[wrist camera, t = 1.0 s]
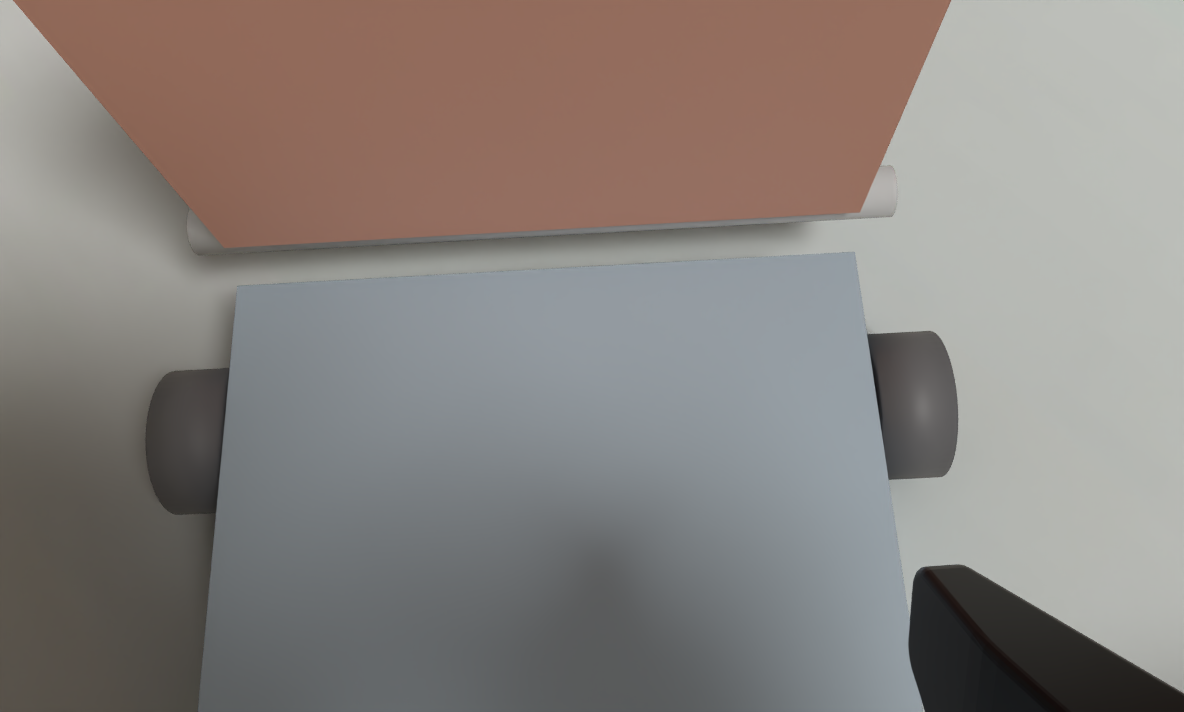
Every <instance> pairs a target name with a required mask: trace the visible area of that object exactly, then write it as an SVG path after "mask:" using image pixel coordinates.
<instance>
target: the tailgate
mask: <svg viewBox="0 0 1184 712" xmlns="http://www.w3.org/2000/svg"><path fill="white" fill-rule="evenodd" d="M13 1H14V2H15V3H16V4H17V5H18V7H19V8H20V9H21V10H22V11H23V12H24V14H25V15H26V16H27V17H28V18H29V20H30V21H31V22H32V23H33V24H34V25H35V27H36V28H37V29H38V30H39V31H40V32H41V34H42V35H43V36H44V37H45V38H46V39H47V41H48V42H49V43H50V44H51V45H52V46H53V48H54V49H55V50H56V51H57V52H58V54H59V55H60V56H61V57H62V58H63V59H64V61H65V62H66V63H67V64H68V65H69V66H70V68H71V69H72V70H73V71H74V72H75V73H76V75H77V76H78V77H79V78H80V79H81V81H82V82H83V83H84V84H85V85H86V86H87V88H88V89H89V90H90V91H91V92H92V93H93V95H94V96H95V97H96V98H97V99H98V100H99V102H100V103H101V104H102V105H103V106H104V108H105V109H106V110H107V111H108V112H109V113H110V115H111V116H112V117H113V118H114V119H115V120H116V122H117V123H118V124H119V125H120V126H121V127H122V129H123V130H124V131H125V132H126V133H127V135H128V136H129V137H130V138H131V139H132V140H133V142H134V143H135V144H136V145H137V146H138V147H139V149H140V150H141V151H142V152H143V153H144V154H145V156H146V157H147V158H148V159H149V160H150V162H151V163H152V164H153V165H154V166H155V167H156V169H157V170H158V171H159V172H160V173H161V174H162V176H163V177H164V178H165V179H166V180H167V181H168V183H169V184H170V185H171V186H172V187H173V188H174V190H175V191H176V192H177V193H178V194H179V196H180V197H181V198H182V199H183V200H184V201H185V203H186V204H187V205H188V206H189V207H190V209H189V211H188V214H187V235H188V239H189V243H190V245H191V248H192V250H193V251H194V252H195V253H196V254H197V255H217V254H235V253H253V252H271V251H289V250H307V249H325V248H343V247H360V246H378V245H396V244H414V243H432V242H450V241H468V240H486V239H504V238H522V237H539V236H557V235H575V234H593V233H611V232H629V231H647V230H665V229H683V228H701V227H718V226H736V225H754V224H772V223H790V222H808V221H826V220H844V219H862V218H880V217H892V216H893V215H894V213H895V210H896V206H897V197H898V186H897V178H896V173H895V170H894V168H893V167H892V166H891V165H888V166H880V165H881V162H882V160H883V158H884V155H885V153H886V151H887V148H888V146H889V144H890V141H891V139H892V137H893V134H894V132H895V130H896V127H897V125H898V123H899V120H900V118H901V116H902V113H903V111H904V109H905V106H906V104H907V102H908V99H909V97H910V95H911V92H912V90H913V88H914V85H915V83H916V81H917V79H918V76H919V74H920V72H921V69H922V67H923V65H924V62H925V60H926V58H927V55H928V53H929V51H930V48H931V46H932V44H933V41H934V39H935V37H936V34H937V32H938V30H939V27H940V25H941V23H942V20H943V18H944V16H945V13H946V11H947V9H948V6H949V4H950V2H951V0H13Z"/></svg>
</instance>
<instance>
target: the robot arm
mask: <svg viewBox="0 0 1184 712" xmlns="http://www.w3.org/2000/svg"><path fill="white" fill-rule="evenodd" d="M908 650H909V659H910V664H911V668H912V672H913V675H914V678H915V681H916V684H917V687H918V691H919V694H920V697H921V700H922V703H923V706H924V710H925V712H1184V693H1182V692H1181V691H1179V690H1177V689H1176V688H1174V687H1172V686H1170V685H1169V684H1167V683H1165V682H1164V681H1162V680H1160V679H1158V678H1157V677H1155V676H1153V675H1152V674H1150V673H1148V672H1147V671H1145V670H1143V669H1141V668H1140V667H1138V666H1136V665H1135V664H1133V663H1131V662H1129V661H1128V660H1126V659H1124V658H1123V657H1121V656H1119V655H1117V654H1116V653H1114V652H1112V651H1111V650H1109V649H1107V648H1106V647H1104V646H1102V645H1100V644H1099V643H1097V642H1095V641H1094V640H1092V639H1090V638H1088V637H1087V636H1085V635H1083V634H1082V633H1080V632H1078V631H1076V630H1075V629H1073V628H1071V627H1070V626H1068V625H1066V624H1065V623H1063V622H1061V621H1059V620H1058V619H1056V618H1054V617H1053V616H1051V615H1049V614H1047V613H1046V612H1044V611H1042V610H1041V609H1039V608H1037V607H1035V606H1034V605H1032V604H1030V603H1029V602H1027V601H1025V600H1024V599H1022V598H1020V597H1018V596H1017V595H1015V594H1013V593H1012V592H1010V591H1008V590H1006V589H1005V588H1003V587H1001V586H1000V585H998V584H996V583H994V582H993V581H991V580H989V579H988V578H986V577H984V576H983V575H981V574H979V573H977V572H976V571H974V570H972V569H971V568H969V567H966V566H964V565H944V566H929V567H922V568H921V569H919V570H918V571H917V572H916V575H915V578H914V581H913V590H912V602H911V614H910V626H909V638H908Z"/></svg>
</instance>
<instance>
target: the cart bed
mask: <svg viewBox="0 0 1184 712" xmlns="http://www.w3.org/2000/svg"><path fill="white" fill-rule="evenodd" d="M957 435H958V404H957V393H956V385H955V379H954V374H953V370H952V366H951V362H950V359H949V356H948V353H947V351H946V348H945V346H944V344H943V342H942V340H941V339H940V338H939V336H938V335H937V334H936V333H934V332H932V331H921V332H902V333H883V334H867V331H866V324H865V318H864V311H863V304H862V297H861V291H860V284H859V277H858V270H857V264H856V257H855V252H842V253H824V254H806V255H788V256H770V257H751V258H733V259H715V260H697V261H679V262H661V263H642V264H624V265H606V266H588V267H570V268H552V269H533V270H515V271H497V272H479V273H461V274H443V275H424V276H406V277H388V278H370V279H352V280H334V281H315V282H297V283H279V284H261V285H243V286H237V295H236V306H235V316H234V327H233V338H232V349H231V359H230V368H223V369H204V370H185V371H173V372H170V373H168V374H167V375H165V376H164V377H163V378H162V380H161V381H160V382H159V384H158V386H157V387H156V389H155V392H154V394H153V397H152V400H151V403H150V407H149V411H148V417H147V425H146V456H147V464H148V470H149V475H150V479H151V482H152V485H153V488H154V491H155V493H156V495H157V497H158V499H159V501H160V502H161V504H162V505H163V506H164V508H166V509H167V510H168V511H169V512H171V513H173V514H176V515H183V514H203V513H216V520H215V531H214V542H213V552H212V563H211V574H210V584H209V595H208V606H207V617H206V627H205V638H204V649H203V659H202V670H201V681H200V692H199V702H198V712H923V708H922V701H921V697H920V694H919V691H918V687H917V684H916V681H915V678H914V675H913V672H912V668H911V664H910V659H909V650H908V638H909V626H910V620H909V613H908V607H907V600H906V593H905V587H904V580H903V573H902V566H901V560H900V553H899V546H898V539H897V533H896V526H895V519H894V513H893V506H892V499H891V492H890V486H889V480H891V479H912V478H932V477H942V476H944V475H945V474H946V473H947V472H948V471H949V469H950V467H951V465H952V462H953V459H954V455H955V450H956V444H957Z"/></svg>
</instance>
